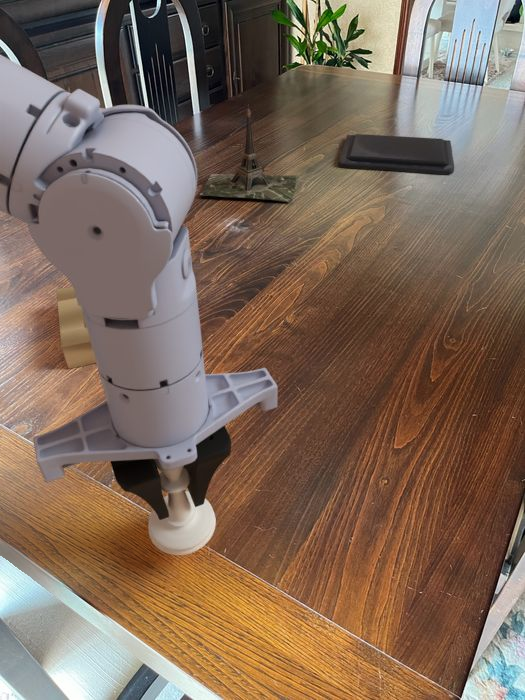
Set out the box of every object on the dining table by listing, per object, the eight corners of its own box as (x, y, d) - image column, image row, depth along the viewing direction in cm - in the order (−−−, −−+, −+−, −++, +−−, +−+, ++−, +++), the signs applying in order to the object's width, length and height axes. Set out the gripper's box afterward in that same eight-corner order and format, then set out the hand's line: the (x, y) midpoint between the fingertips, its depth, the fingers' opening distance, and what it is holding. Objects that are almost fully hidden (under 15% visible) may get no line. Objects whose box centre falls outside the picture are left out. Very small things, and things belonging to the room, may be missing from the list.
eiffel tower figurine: (197, 199, 88) (189, 112, 80) (211, 174, 96) (204, 92, 87) (291, 204, 87) (292, 115, 78) (297, 177, 94) (299, 94, 86)
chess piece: (171, 486, 43) (154, 398, 37) (227, 509, 42) (220, 422, 35) (135, 538, 40) (109, 452, 33) (194, 566, 38) (179, 482, 32)
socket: (62, 310, 66) (56, 289, 64) (154, 292, 68) (150, 272, 66) (68, 369, 58) (61, 347, 56) (172, 346, 60) (168, 324, 58)
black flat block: (336, 156, 96) (347, 127, 107) (335, 167, 97) (346, 137, 109) (455, 165, 92) (454, 134, 104) (453, 176, 94) (452, 144, 105)
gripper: (17, 449, 25) (83, 592, 34) (302, 362, 30) (295, 509, 38) (6, 357, 30) (65, 503, 39) (251, 294, 35) (255, 438, 43)
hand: (177, 501), depth 39 cm, fingers closed on chess piece
